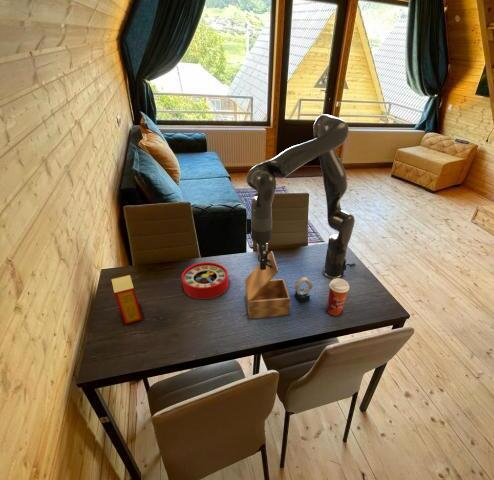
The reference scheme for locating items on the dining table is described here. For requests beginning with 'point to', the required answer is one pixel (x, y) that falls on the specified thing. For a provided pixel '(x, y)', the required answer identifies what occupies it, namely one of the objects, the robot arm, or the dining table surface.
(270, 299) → the chest
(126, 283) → the baking soda box
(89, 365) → the dining table surface
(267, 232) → the robot arm
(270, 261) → the lid
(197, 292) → the toy clock
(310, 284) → the watch
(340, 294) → the coffee cup
